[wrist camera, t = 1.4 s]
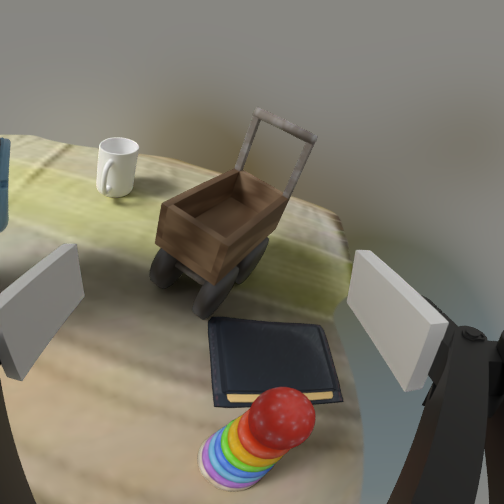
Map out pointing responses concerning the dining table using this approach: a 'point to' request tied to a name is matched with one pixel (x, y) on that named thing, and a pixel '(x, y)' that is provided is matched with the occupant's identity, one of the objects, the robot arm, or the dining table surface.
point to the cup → (116, 166)
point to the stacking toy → (256, 439)
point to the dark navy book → (269, 361)
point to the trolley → (223, 224)
